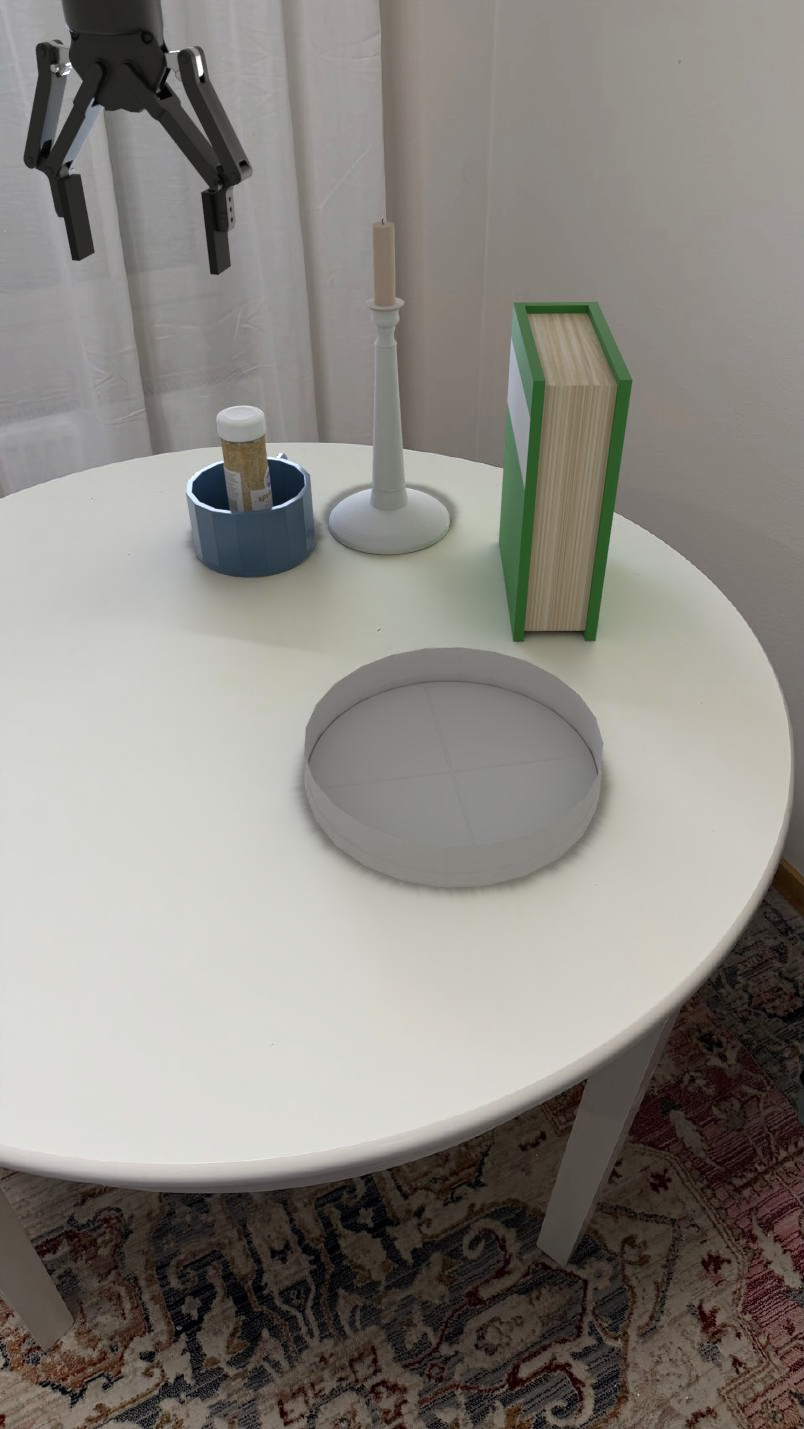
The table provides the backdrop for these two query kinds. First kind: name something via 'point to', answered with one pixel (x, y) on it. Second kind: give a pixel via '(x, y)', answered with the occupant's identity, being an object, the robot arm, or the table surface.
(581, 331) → the hardback book
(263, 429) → the sprinkles bottle
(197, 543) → the blue pot
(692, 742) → the table surface
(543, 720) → the dish
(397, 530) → the candlestick
